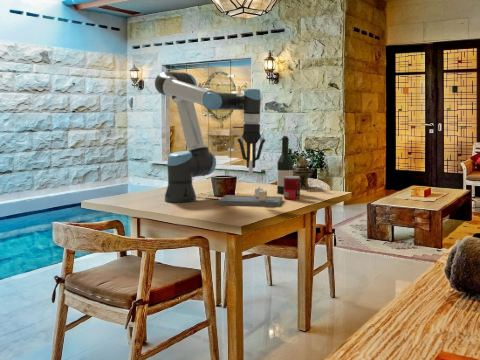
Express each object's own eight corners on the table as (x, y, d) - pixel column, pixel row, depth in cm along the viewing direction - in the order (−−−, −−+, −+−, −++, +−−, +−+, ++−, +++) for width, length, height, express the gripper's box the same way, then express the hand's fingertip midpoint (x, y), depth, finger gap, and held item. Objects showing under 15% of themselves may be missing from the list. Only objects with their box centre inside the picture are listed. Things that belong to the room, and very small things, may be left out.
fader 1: (254, 197, 246) (254, 188, 246) (256, 195, 251) (256, 186, 250) (261, 197, 246) (261, 188, 245) (262, 195, 250) (262, 186, 250)
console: (218, 204, 239) (218, 200, 239) (225, 199, 255) (225, 195, 255) (278, 206, 234) (278, 202, 234) (282, 200, 250) (282, 196, 250)
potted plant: (288, 185, 302) (288, 151, 299) (304, 185, 303) (305, 151, 300) (296, 190, 282) (296, 154, 280) (313, 190, 283) (314, 154, 281)
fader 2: (258, 200, 237) (258, 191, 236) (260, 198, 242) (260, 189, 241) (265, 200, 236) (265, 191, 236) (266, 198, 241) (266, 189, 241)
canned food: (299, 200, 251) (299, 177, 250) (282, 199, 253) (282, 177, 251) (300, 197, 259) (300, 175, 257) (284, 197, 260) (284, 175, 259)
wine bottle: (274, 192, 275) (274, 136, 272) (288, 191, 279) (288, 135, 275) (281, 194, 268) (281, 136, 264) (295, 193, 271) (296, 136, 267)
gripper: (236, 123, 233) (235, 175, 236) (264, 124, 231) (263, 176, 234) (239, 122, 240) (238, 173, 244) (267, 123, 238) (265, 174, 241)
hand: (250, 174), depth 239 cm, fingers closed
